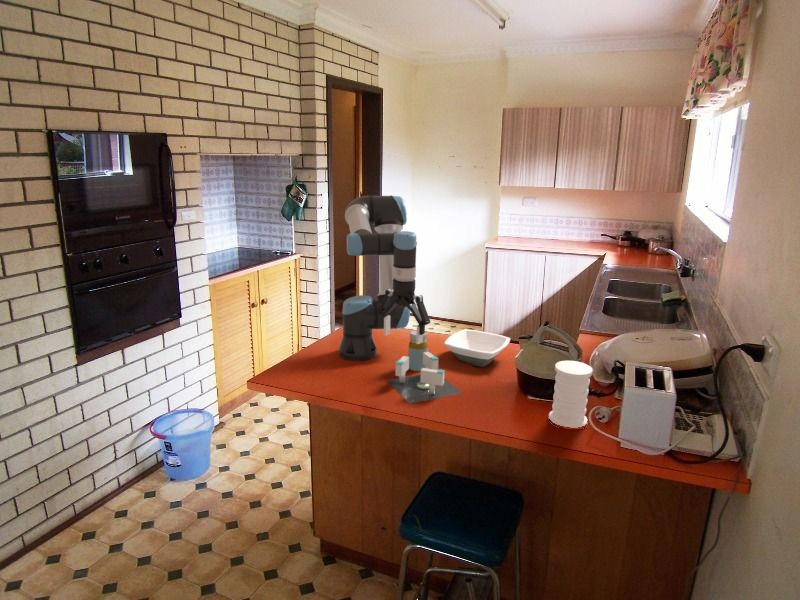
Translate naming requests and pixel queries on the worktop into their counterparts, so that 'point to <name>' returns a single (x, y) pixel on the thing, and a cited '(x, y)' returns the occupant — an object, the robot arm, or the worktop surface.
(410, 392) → the plate
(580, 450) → the worktop surface
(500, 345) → the bowl
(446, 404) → the worktop surface
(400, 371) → the knob near
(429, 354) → the knob far
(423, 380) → the knob front
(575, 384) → the decorative container
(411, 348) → the bottle
